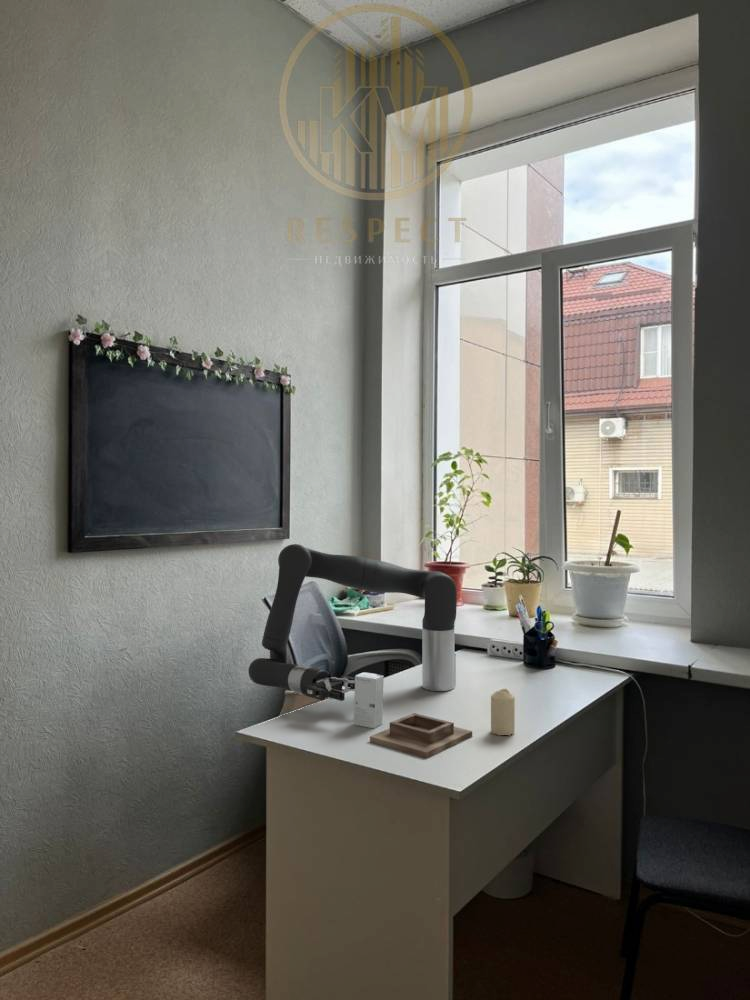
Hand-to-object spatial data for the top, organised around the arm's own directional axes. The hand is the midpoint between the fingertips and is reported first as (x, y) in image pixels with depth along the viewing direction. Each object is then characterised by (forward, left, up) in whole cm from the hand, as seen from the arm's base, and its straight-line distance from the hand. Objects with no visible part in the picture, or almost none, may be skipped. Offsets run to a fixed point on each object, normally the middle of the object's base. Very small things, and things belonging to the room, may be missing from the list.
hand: (355, 692), depth 182 cm
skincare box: (0, +4, -7) cm, 8 cm away
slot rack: (0, +20, -7) cm, 22 cm away
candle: (-16, +32, -7) cm, 37 cm away
